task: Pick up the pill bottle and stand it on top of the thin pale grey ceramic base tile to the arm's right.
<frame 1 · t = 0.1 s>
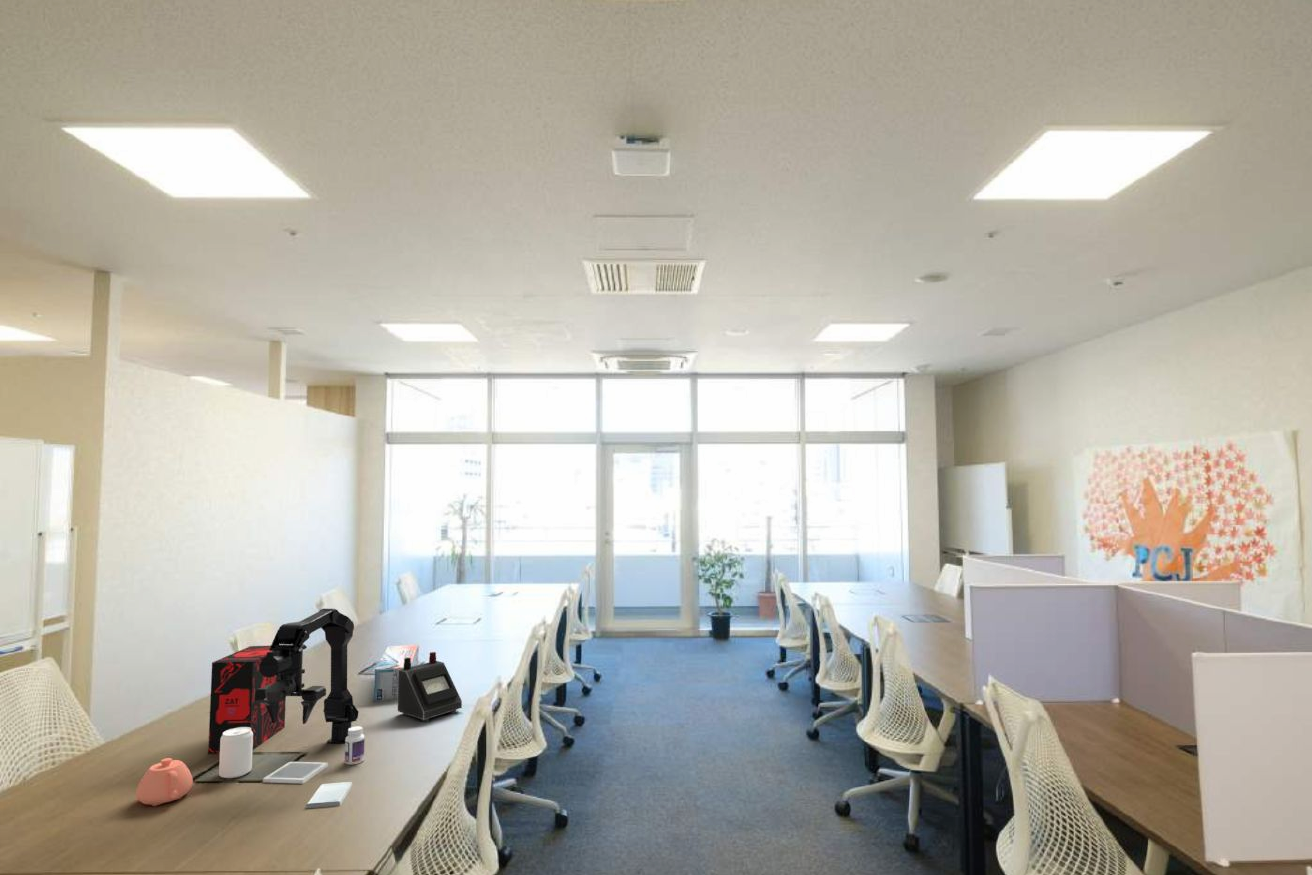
hand: (289, 723, 196), 15 cm above the table, fingers open, 9 cm apart
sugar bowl: (165, 800, 180), on the table
beverage can: (235, 774, 196), on the table
box: (248, 740, 224), on the table
base slab: (296, 773, 196), on the table
soda box: (397, 686, 285), on the table
pill bottle: (354, 762, 205), on the table
voltmeter: (430, 714, 249), on the table
hard drive: (329, 799, 181), on the table
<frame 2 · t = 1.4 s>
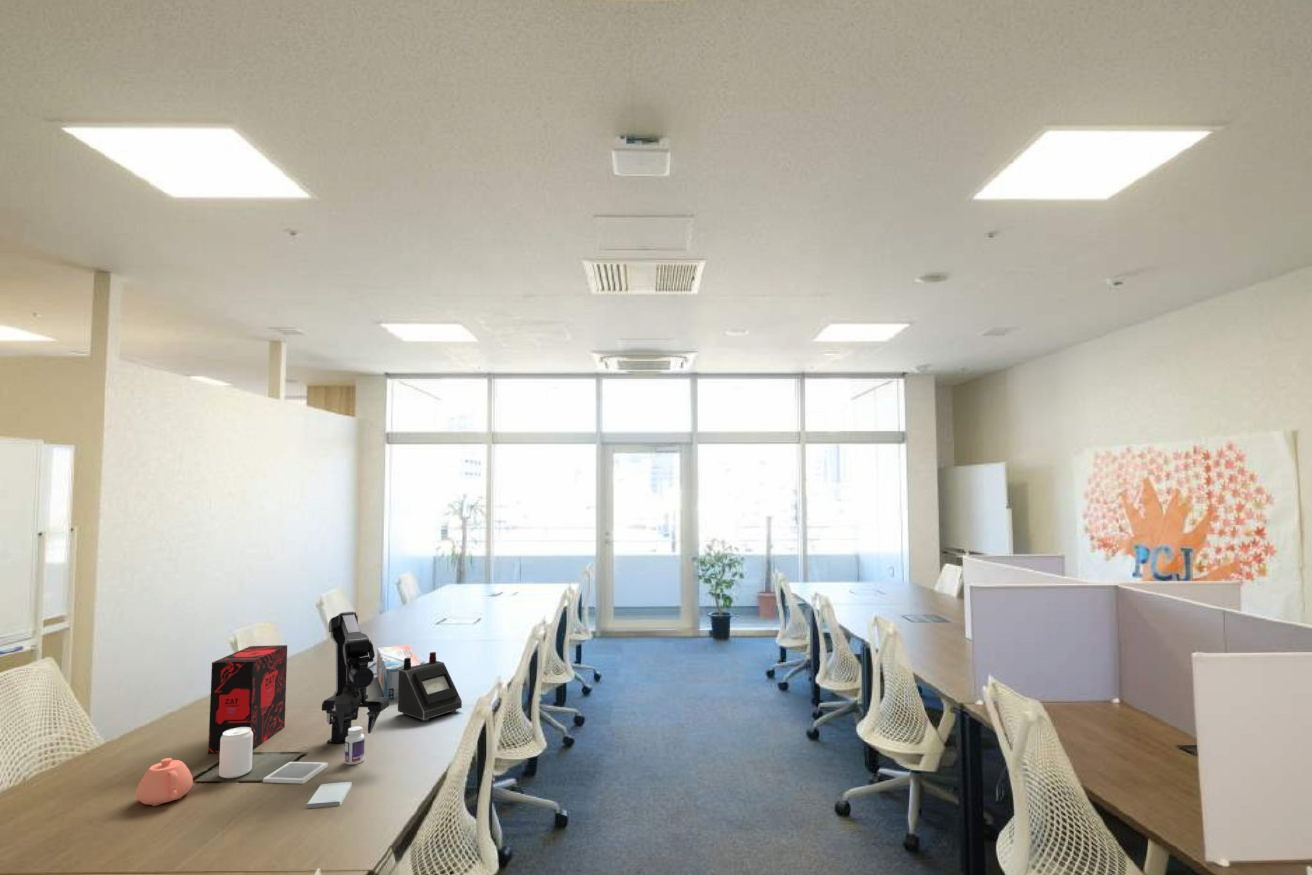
hand: (355, 732, 205), 8 cm above the table, fingers open, 9 cm apart
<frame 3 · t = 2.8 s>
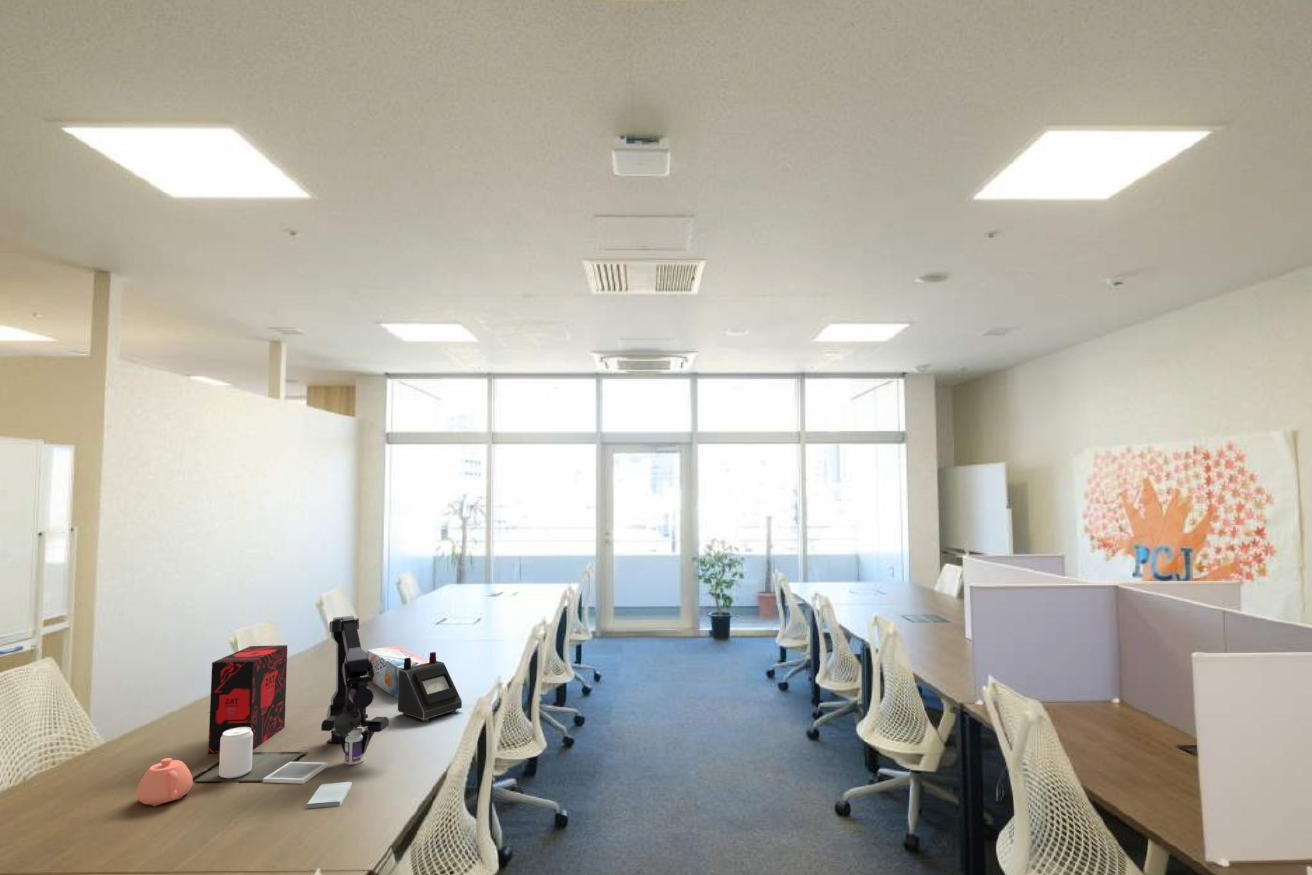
hand: (354, 752, 205), 3 cm above the table, fingers closed on pill bottle, 5 cm apart
pill bottle: (354, 762, 205), on the table, touching gripper
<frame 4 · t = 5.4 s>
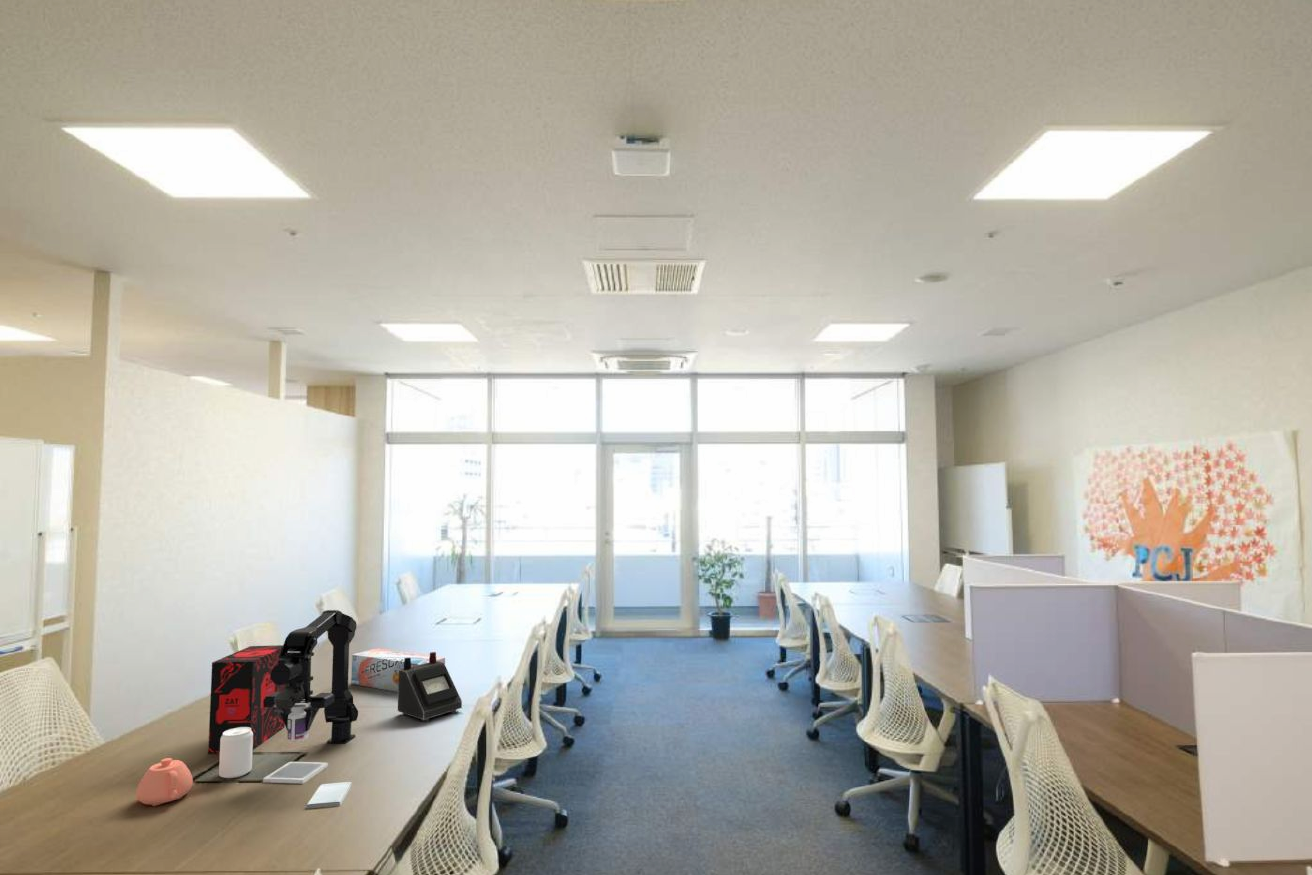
hand: (298, 730, 197), 12 cm above the table, fingers closed on pill bottle, 5 cm apart
pill bottle: (297, 739, 197), point 10 cm above the table, touching gripper
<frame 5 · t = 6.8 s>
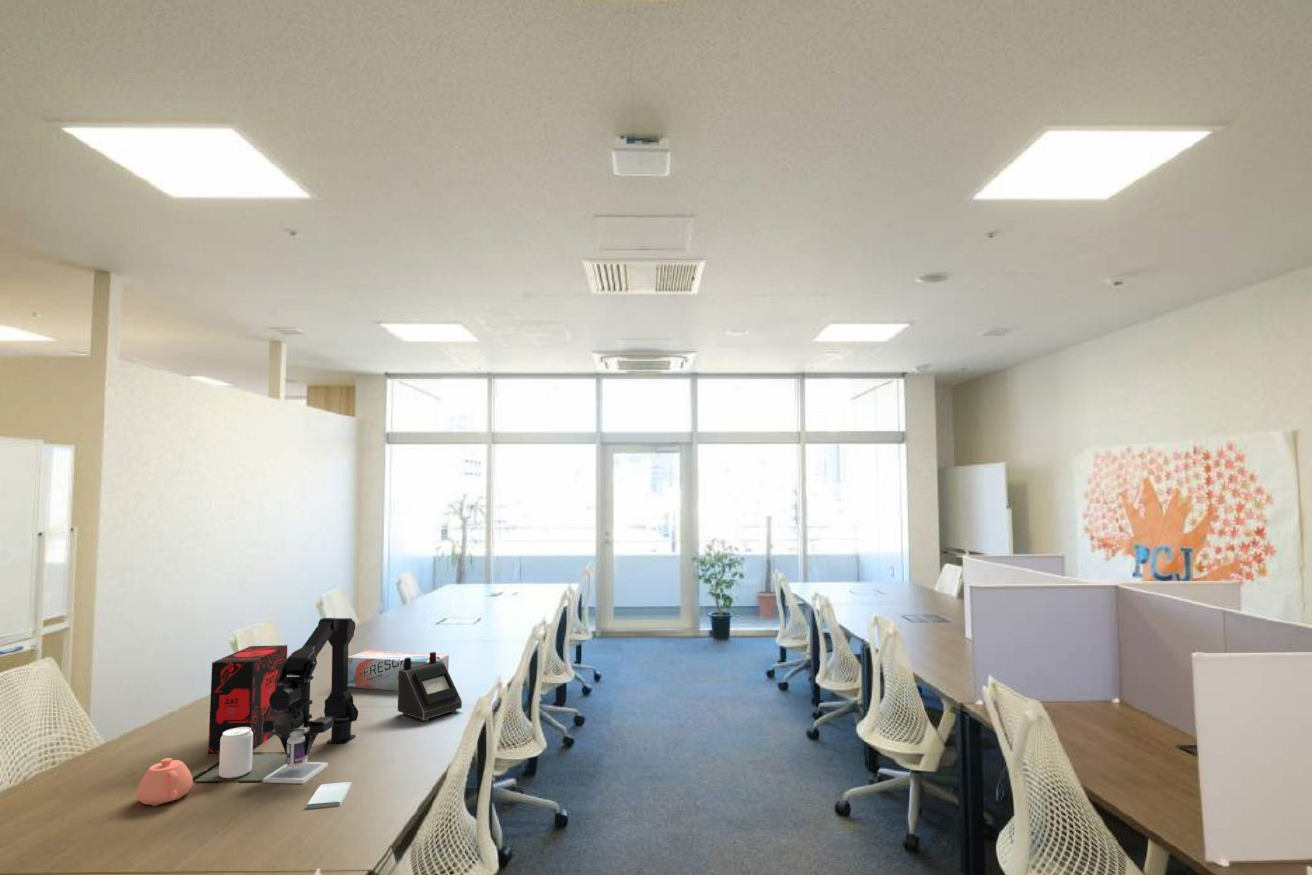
hand: (297, 754, 196), 5 cm above the table, fingers closed on pill bottle, 5 cm apart
pill bottle: (296, 764, 196), point 3 cm above the table, touching gripper
when the fingers open (4 cm above the table, at t = 8.0 s): pill bottle stays where it is, resting on base slab.
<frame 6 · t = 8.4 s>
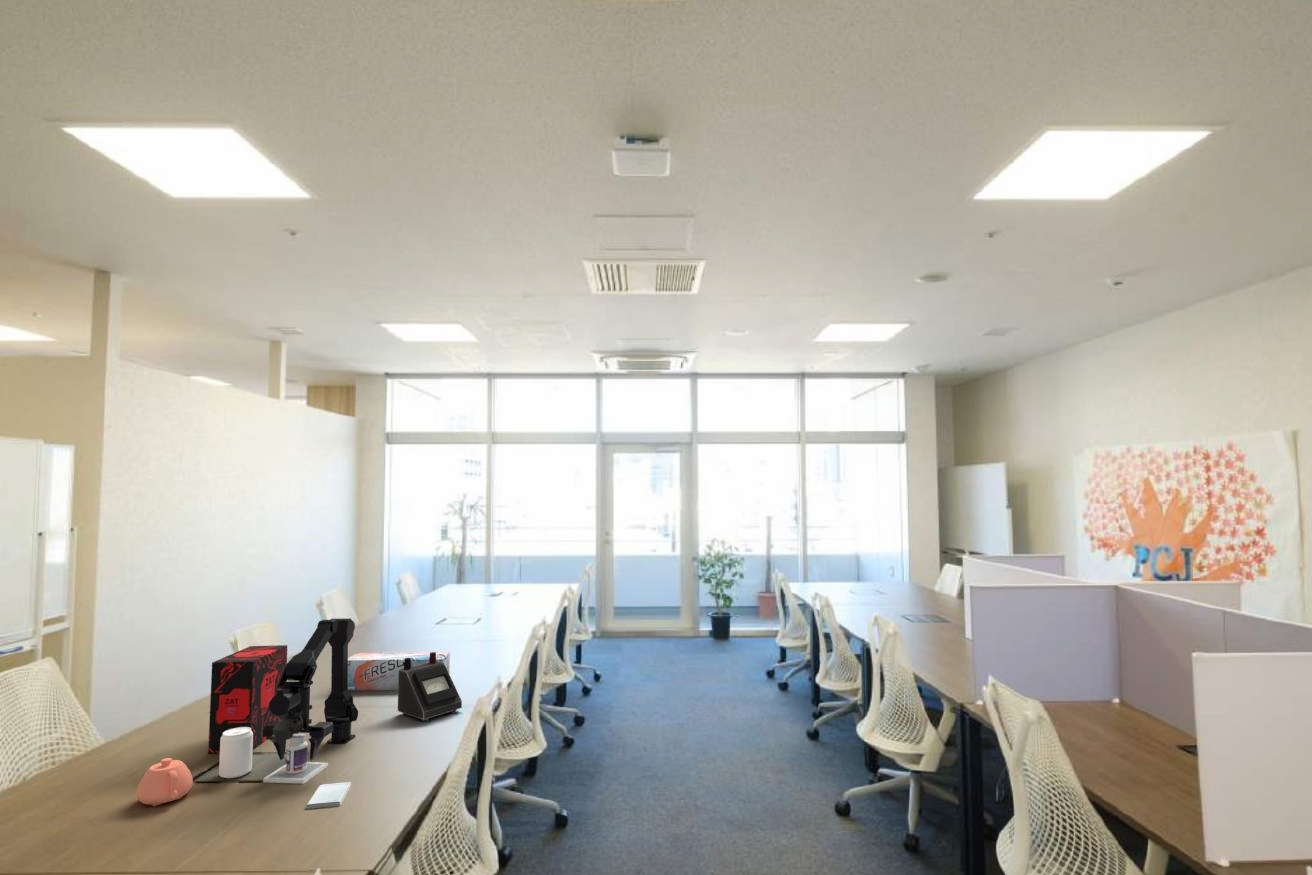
hand: (296, 759, 196), 4 cm above the table, fingers open, 9 cm apart
pill bottle: (296, 771, 196), point 1 cm above the table, touching base slab
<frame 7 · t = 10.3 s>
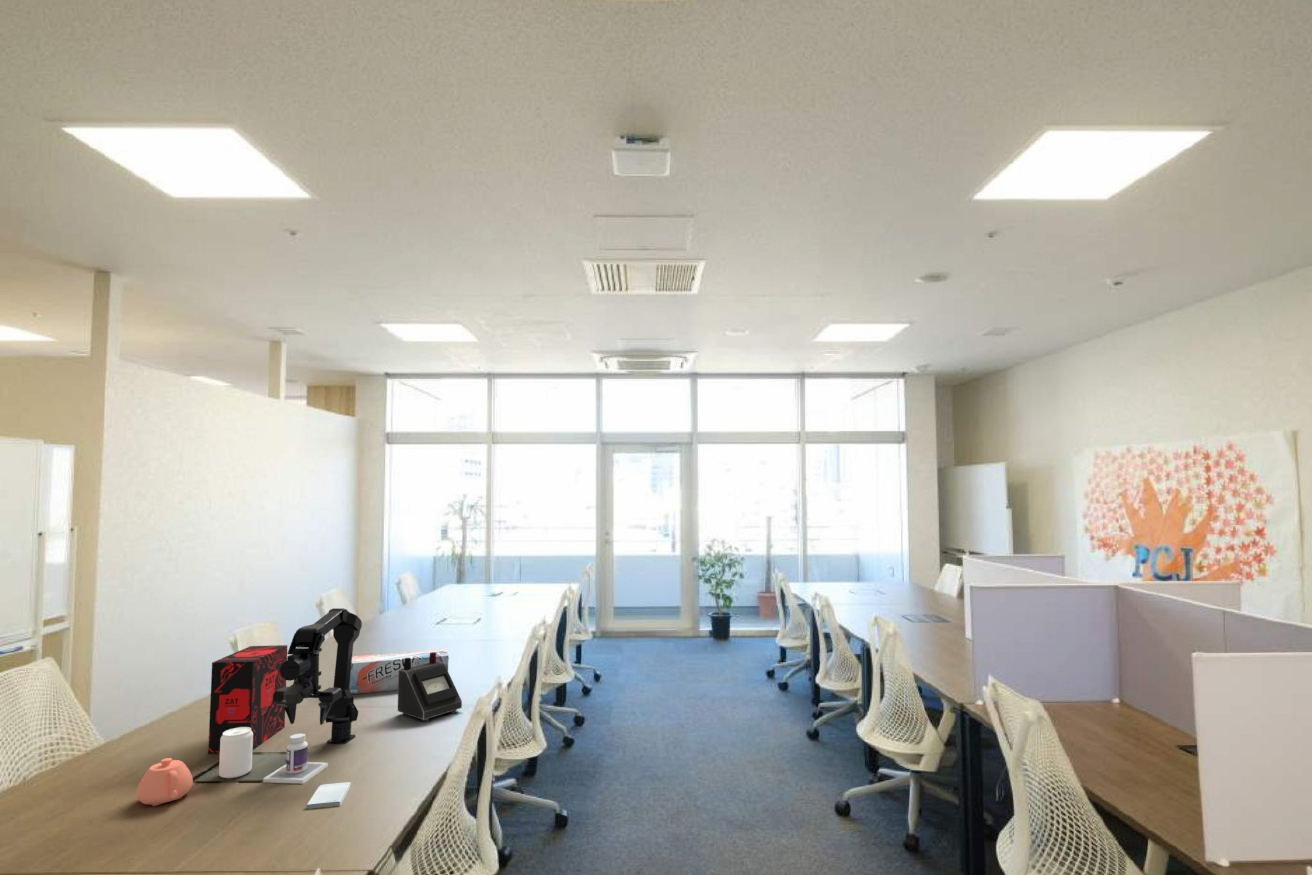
hand: (307, 723, 201), 13 cm above the table, fingers open, 9 cm apart
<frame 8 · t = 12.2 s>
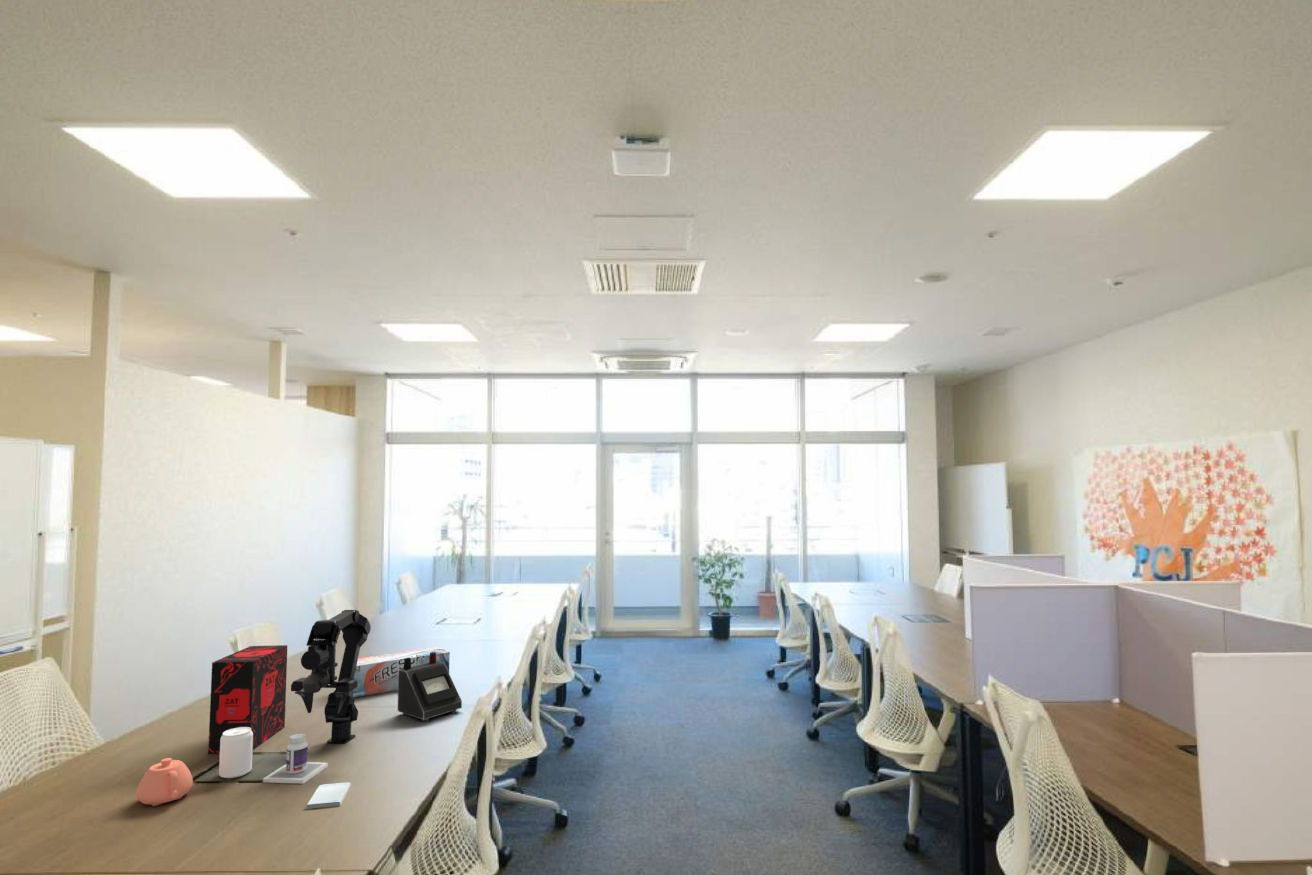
hand: (323, 713, 210), 13 cm above the table, fingers open, 9 cm apart
at the end: pill bottle 0.1 cm from the base slab (horizontally); pill bottle touching base slab; pill bottle tilted 0° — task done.
